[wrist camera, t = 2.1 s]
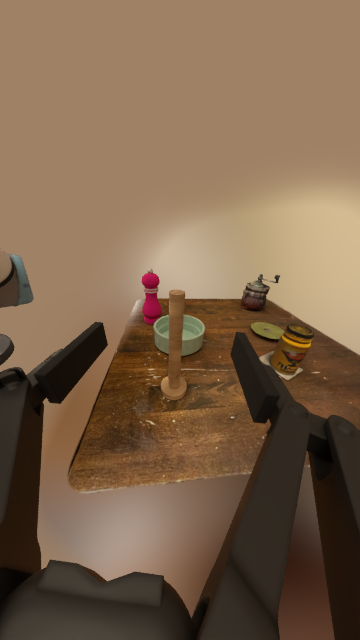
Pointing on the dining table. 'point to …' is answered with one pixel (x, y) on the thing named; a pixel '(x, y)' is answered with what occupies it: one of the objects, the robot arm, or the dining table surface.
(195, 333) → the bowl
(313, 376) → the dining table surface
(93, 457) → the dining table surface
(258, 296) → the coffee grinder
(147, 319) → the pepper mill
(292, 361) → the condiment
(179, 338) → the wooden post with base
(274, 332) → the olive green flat disc
